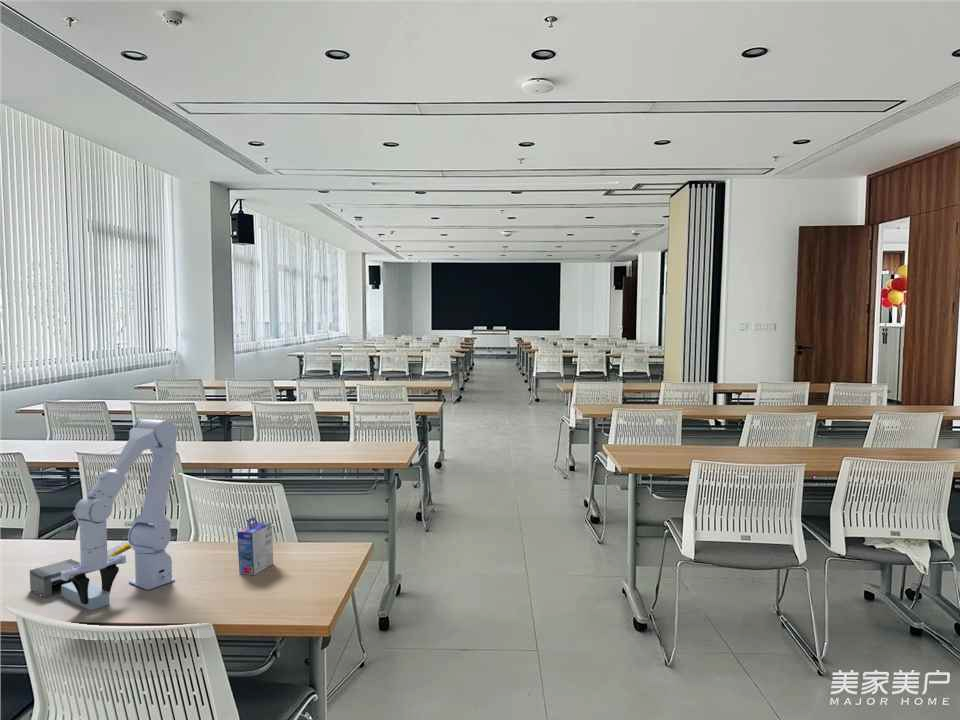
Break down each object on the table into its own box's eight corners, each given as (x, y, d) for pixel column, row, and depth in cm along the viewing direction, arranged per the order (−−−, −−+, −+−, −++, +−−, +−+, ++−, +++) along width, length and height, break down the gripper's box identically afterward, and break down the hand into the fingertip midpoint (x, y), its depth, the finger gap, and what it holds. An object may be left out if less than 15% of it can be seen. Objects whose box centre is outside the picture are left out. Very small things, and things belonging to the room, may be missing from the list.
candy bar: (99, 567, 189) (99, 560, 189) (85, 566, 189) (85, 560, 189) (134, 547, 206) (134, 541, 206) (121, 547, 206) (121, 541, 206)
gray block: (86, 585, 174) (86, 565, 174) (45, 598, 166) (44, 577, 166) (71, 578, 179) (70, 559, 179) (30, 590, 171) (29, 570, 170)
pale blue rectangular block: (109, 604, 162) (109, 592, 162) (90, 610, 159) (90, 598, 159) (80, 590, 171) (79, 579, 171) (61, 596, 167) (61, 585, 167)
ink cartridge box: (257, 562, 192) (256, 513, 191) (274, 563, 191) (273, 514, 190) (237, 574, 182) (236, 523, 182) (254, 576, 181) (253, 524, 180)
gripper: (115, 535, 169) (116, 586, 170) (53, 551, 157) (55, 606, 158) (129, 540, 165) (131, 592, 166) (68, 556, 153) (69, 613, 154)
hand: (95, 599), depth 162 cm, fingers closed on pale blue rectangular block, 4 cm apart
